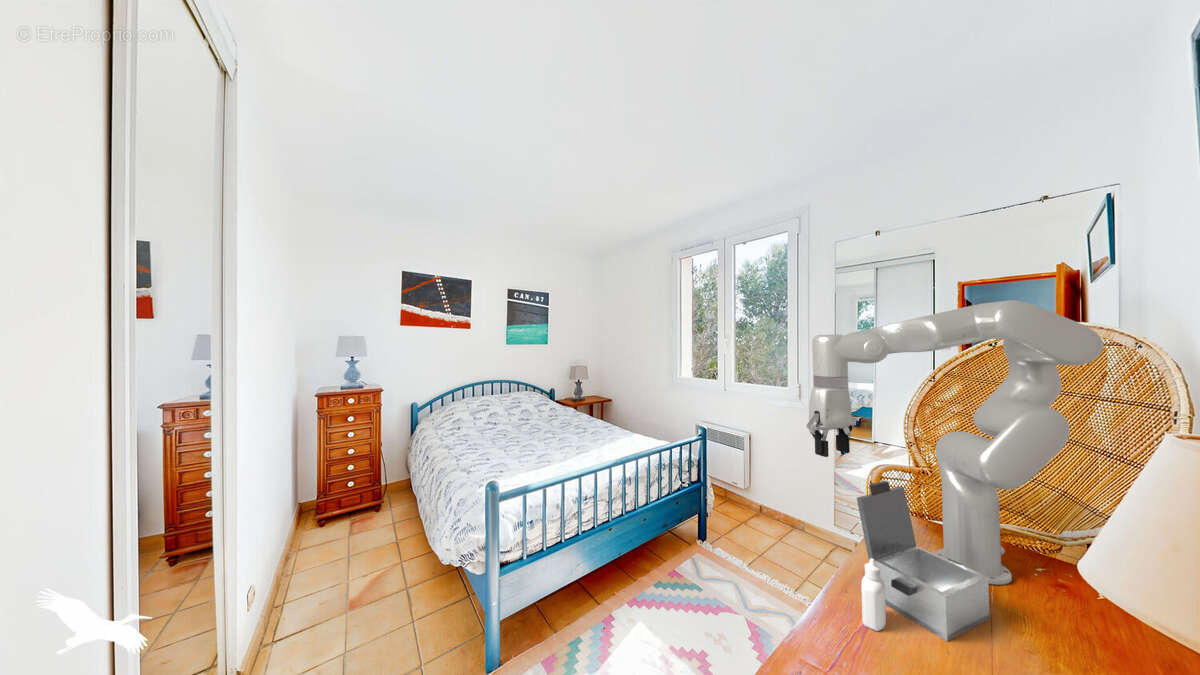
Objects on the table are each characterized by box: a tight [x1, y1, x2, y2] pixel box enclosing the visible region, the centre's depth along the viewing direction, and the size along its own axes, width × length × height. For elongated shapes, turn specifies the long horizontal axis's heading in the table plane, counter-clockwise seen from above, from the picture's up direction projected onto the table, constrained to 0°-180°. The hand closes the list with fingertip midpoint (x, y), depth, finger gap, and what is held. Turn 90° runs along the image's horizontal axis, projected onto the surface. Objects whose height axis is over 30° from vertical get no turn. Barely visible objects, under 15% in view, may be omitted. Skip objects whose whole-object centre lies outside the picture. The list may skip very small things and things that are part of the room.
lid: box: [856, 480, 917, 561], centre depth 82 cm, size 15×15×1 cm
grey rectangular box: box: [875, 545, 991, 642], centre depth 74 cm, size 19×12×8 cm, turn 111°
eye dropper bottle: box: [860, 558, 887, 632], centre depth 71 cm, size 4×6×12 cm
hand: (832, 453), depth 93 cm, fingers open, 6 cm apart
